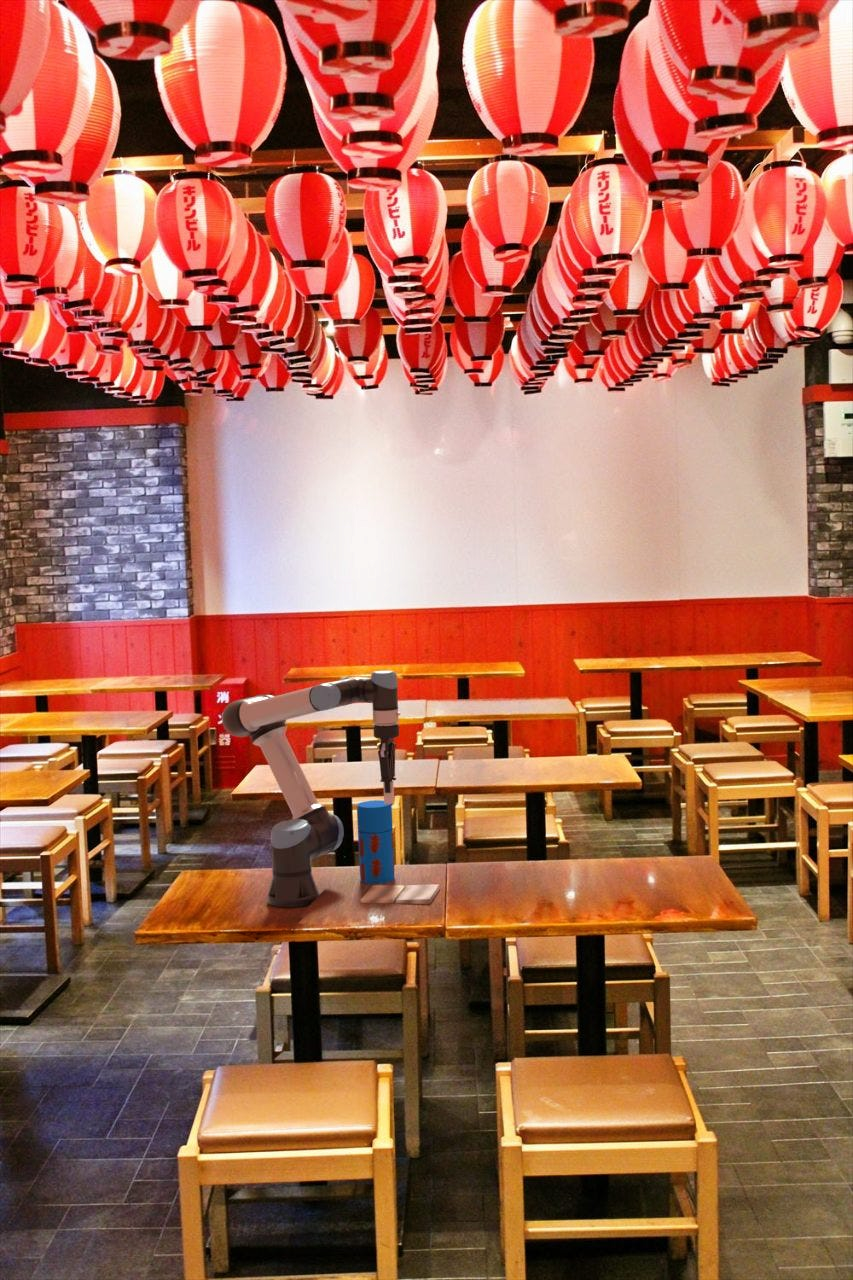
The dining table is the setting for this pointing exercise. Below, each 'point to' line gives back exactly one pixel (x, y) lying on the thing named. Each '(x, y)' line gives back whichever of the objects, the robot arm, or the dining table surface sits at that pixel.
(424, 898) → the plank
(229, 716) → the robot arm
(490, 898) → the dining table surface
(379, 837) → the thermos
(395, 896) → the floor board
